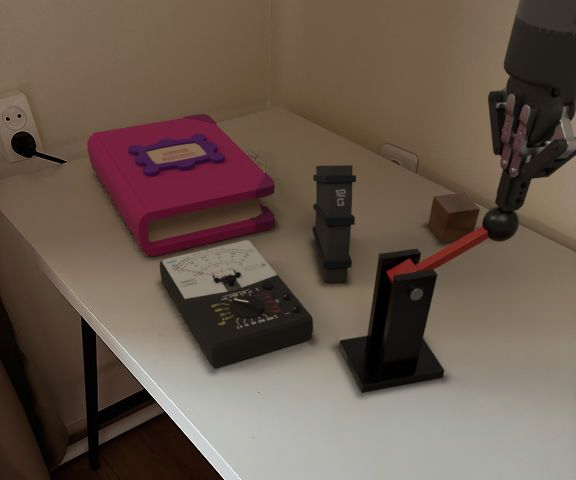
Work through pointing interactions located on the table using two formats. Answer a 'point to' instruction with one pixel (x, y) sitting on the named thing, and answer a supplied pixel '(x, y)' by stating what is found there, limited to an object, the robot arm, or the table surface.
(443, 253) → the lever
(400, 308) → the bracket
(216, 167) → the book
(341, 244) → the magazine
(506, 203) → the robot arm
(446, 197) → the block
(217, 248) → the multimeter
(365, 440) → the table surface
